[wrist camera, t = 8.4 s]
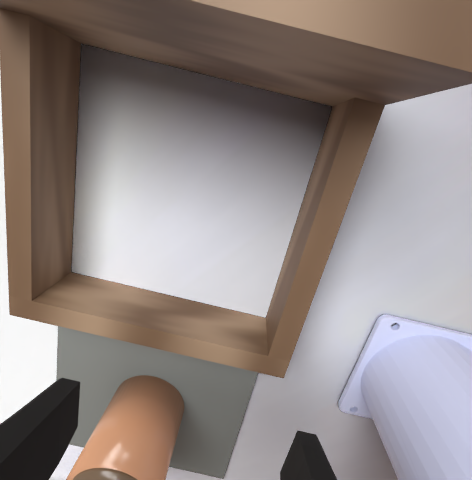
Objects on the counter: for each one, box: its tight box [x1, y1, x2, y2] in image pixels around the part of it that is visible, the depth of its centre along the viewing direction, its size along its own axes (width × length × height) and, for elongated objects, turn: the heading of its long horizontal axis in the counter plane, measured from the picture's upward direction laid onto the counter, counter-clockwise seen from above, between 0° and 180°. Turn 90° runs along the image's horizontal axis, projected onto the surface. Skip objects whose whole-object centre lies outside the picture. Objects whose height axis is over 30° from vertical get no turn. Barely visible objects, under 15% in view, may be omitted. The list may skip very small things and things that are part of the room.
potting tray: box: [0, 0, 472, 378], centre depth 12 cm, size 15×15×9 cm
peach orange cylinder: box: [66, 375, 184, 480], centre depth 19 cm, size 5×5×6 cm
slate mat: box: [57, 326, 258, 479], centre depth 22 cm, size 14×12×1 cm
